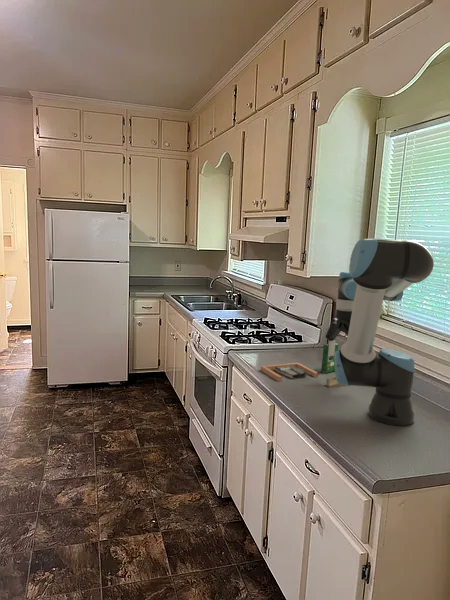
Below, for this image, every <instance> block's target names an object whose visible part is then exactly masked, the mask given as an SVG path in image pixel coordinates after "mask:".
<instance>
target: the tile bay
mask: <svg viewBox="0 0 450 600" xmlns="http://www.w3.org/2000/svg"><path fill="white" fill-rule="evenodd" d="M292 364H293V365H295V366H296V367H297V368H300V369H302V370H303V371H304V373H306V372H307V375H309V376H311V377H313V378H318V374H319V373H318V371H315V370H313V369H312V368H309V367H308V366H305V365H304V364H302V363H300V362H291V363H290V362H289V363H280V364H269V365H260V372H262V373H264V374H266V375H268V376H269V377H270V378H272V379H274V380H276V381H277V382H282V381H283V379H282V378H283V376H281V375H280V374H278V372H277V373H276V372H275V371H276V368H274V367H279V368H281V367H287V366H292Z"/></svg>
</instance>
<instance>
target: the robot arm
mask: <svg viewBox="0 0 450 600" xmlns="http://www.w3.org/2000/svg"><path fill="white" fill-rule="evenodd" d="M434 267H435V266H434V257H433V255H432V253H431V252H430V251H429V250H428V248H426V246H424V245H423V244H421V243H419V242H417V241H414V240H408V239H407V240H401V239H387V238H386V239H383V238H376V237H375V238H374V237H373V238H361V239H359V240H358V241H357V242H356V243H355V245H354V247H353V249H352V251H351V256H350V259H349V267H348V271H341V272H340V273H339V276H338V288H337V289H338V290H337V299H336V305H335V306H336V307H335V308H336V310H335V317H334V318H332V319H331V323H330V325H329V328H328V329H327V332H326V334H325V339H327V340H328V343H327V344H328V347H329V350H328V356H334V352H335V343H336V338H337V337H338V335H340V333H341V332H342V333H344V334H345V335H346V336H347V338H346V342H344V343H343V344H342V345H341V347H340V349H338V351H336V352H335V371H334V373H335V377H336V380H337V382H338V383H339V384H342V385H343V386H349V387H351V386H354V387H355V386H356V387H367V388H375V392H374V395H373V397H372V399H371V402H370V404H369V405H368V411H367V415H368V417H371V418H372V419H373V420H375V421H378V422H380V423H383V424H386V425H392V426H400V427H401V426H409V425H411V424H412V425H413V423H414V422H415V421H414V420H415V412H414V410H413V404H412V390H413V381H414V373H415V372H416V371H415V359H414V358H413V357H412V356H411V355H409V354H408V353H404V352H401V351H398V350H394V349H389V348H380V350H379V352H378V353H377V352H376V351H375V349H374V348H373V347H374V343H375V338H376V334H377V330H378V324H379V321H380V315H381V311H382V307H383V301H387V302H400V301H401V300H402V299H403V296H404V291H405V290H406V289H408V288H409V287H411V286H412V285H413V284H419V283H421V282H423V281H425V280H426V279H427V278H428V277H429V276H430V275H431V273H432V272H433V269H434ZM339 350H341V351H339Z"/></svg>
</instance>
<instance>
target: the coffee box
mask: <svg viewBox="0 0 450 600" xmlns="http://www.w3.org/2000/svg"><path fill="white" fill-rule="evenodd" d="M328 350H329V347H328V343H325V344H323V350H322V351H323V352H322V359H321V360H322V361H321V369H320V370H321V371H320V372H321V373H323V374H329V373H331V372H332V373H333V372H335V352H336V351H338V350H339V343H337V342H335V352H334V356H328Z"/></svg>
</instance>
